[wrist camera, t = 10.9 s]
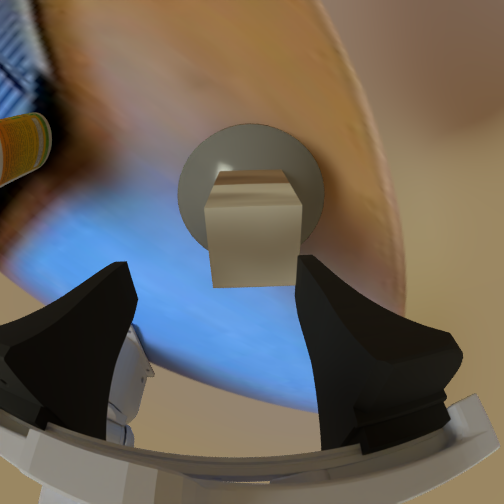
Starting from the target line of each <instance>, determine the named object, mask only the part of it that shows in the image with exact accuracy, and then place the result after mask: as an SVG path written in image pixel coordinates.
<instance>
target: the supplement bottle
mask: <svg viewBox="0 0 504 504" xmlns="http://www.w3.org/2000/svg"><path fill="white" fill-rule="evenodd" d="M51 145H52V133H51V128H50V125H49V123H48V121H47V120H46V118H45V117H44V116H43V115H41V114H39V113H27V114H22V115H17V116H13V117H8V118H4V119H0V187H2V186H4V185H6V184H8V183H10V182H12V181H14V180H16V179H18V178H20V177H22V176H24V175H26V174H28V173H30V172H32V171H34V170H36V169H38V168H40V167H41V166H42V165H43V164H44V163H45V161H46V160H47V158H48V156H49V153H50V150H51Z"/></svg>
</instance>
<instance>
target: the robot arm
mask: <svg viewBox="0 0 504 504" xmlns="http://www.w3.org/2000/svg"><path fill="white" fill-rule="evenodd" d="M295 301H296V308H297V314H298V318H299V322H300V325H301V329H302V332H303V335H304V339H305V342H306V346H307V349H308V353H309V356H310V360H311V364H312V369H313V375H314V382H315V388H316V396H317V404H318V413H319V422H320V435H321V451H318V452H311V453H303V454H295V455H284V456H271V457H249V458H248V457H247V458H228V457H227V458H226V457H203V456H190V455H180V454H171V453H164V452H157V451H151V450H145V449H139V448H134V435H133V433H132V430H131V427H130V426H128V425H126V424H128V423H130V422H131V421H132V420H133V419H134V418H135V417H136V415H137V413H138V410H139V406H140V402H141V398H142V395H143V391H144V387H145V383H146V380H147V377H154V374H155V373H154V371H153V369H152V367H151V365H150V363H149V361H148V359H147V357H146V355H145V353H144V350H143V348H142V346H141V344H140V342H139V339H138V337H137V335H136V332H135V330H134V328H133V326H132V325H131V323H132V321H133V318H134V314H135V311H136V306H137V302H138V297H137V294H136V291H135V287H134V284H133V281H132V278H131V274H130V271H129V268H128V264H127V261H124V262H114V263H112V264H110V265H108V266H106V267H105V268H103V269H102V270H100V271H99V272H97V273H96V274H94V275H93V276H92V277H90V278H89V279H87V280H86V281H84V282H83V283H82V284H80V285H79V286H77V287H76V288H74V289H73V290H71V291H70V292H68V293H67V294H65V295H64V296H62V297H61V298H59V299H57V300H56V301H54V302H52V303H51V304H49V305H47V306H45V307H43V308H42V309H40V310H37V311H35V312H33V313H31V314H29V315H27V316H25V317H22V318H20V319H18V320H15V321H12V322H9V323H7V324H4V325H0V456H1V457H3V458H4V459H6V460H7V461H8V462H10V463H11V464H13V465H14V466H16V467H17V468H18V469H19V470H20V472H21V473H23V474H24V475H26V476H28V477H29V478H31V479H32V480H34V481H36V482H38V483H40V484H41V485H42V490H41V494H40V499H39V503H38V504H401V503H404V502H406V501H409V500H411V499H413V498H416V497H418V496H420V495H422V494H425V493H426V492H428V491H431V490H433V489H435V488H437V487H439V486H440V485H442V484H444V483H446V482H448V481H450V480H451V479H453V478H455V477H457V476H458V475H460V474H462V473H463V472H465V471H467V470H468V469H470V468H471V467H473V466H475V465H476V464H478V463H479V462H480V461H482V460H483V459H485V458H486V457H488V456H489V455H491V454H492V453H493V452H495V451H496V450H497V449H499V447H500V444H499V441H498V439H497V436H496V434H495V431H494V429H493V427H492V425H491V422H490V420H489V418H488V416H487V414H486V412H485V410H484V407H483V406H482V403H481V401H480V399H479V397H478V396H477V394H472V395H470V396H468V397H466V398H464V399H462V400H460V401H458V402H456V403H454V404H452V405H451V406H449V407H448V408H447V409H446V407H445V404H444V401H445V400H446V399H447V395H446V394H445V391H444V388H445V387H446V386H447V384H448V383H449V382H450V380H451V379H452V378H453V376H454V375H455V374H456V372H457V371H458V369H459V367H460V365H461V362H462V359H463V353H462V351H461V349H460V348H459V346H458V344H457V343H456V341H455V340H454V338H453V337H452V335H451V334H450V333H449V332H445V331H442V330H438V329H434V328H431V327H427V326H424V325H422V324H419V323H416V322H413V321H411V320H409V319H406V318H404V317H402V316H399V315H397V314H395V313H393V312H391V311H389V310H387V309H385V308H383V307H381V306H380V305H378V304H376V303H374V302H373V301H371V300H370V299H368V298H366V297H365V296H363V295H362V294H360V293H359V292H357V291H356V290H355V289H353V288H352V287H350V286H349V285H348V284H346V283H345V282H344V281H343V280H341V279H340V278H339V277H338V276H337V275H335V274H334V273H333V272H332V271H331V270H329V269H328V268H327V267H326V266H325V265H324V264H323V263H321V262H320V261H319V260H318V259H317V258H316V257H315V256H313V255H298V257H297V272H296V286H295ZM222 481H224V482H222ZM255 481H270V484H254V483H253V484H252V483H234V482H255Z"/></svg>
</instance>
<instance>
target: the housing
mask: <svg viewBox="0 0 504 504" xmlns="http://www.w3.org/2000/svg"><path fill="white" fill-rule="evenodd" d="M204 213H205V223H206V232H207V241H208V250H209V258H210V267H211V275H212V282H213V288H237V287H267V286H290V285H296V272H297V257H298V255H300V240H301V223H302V204H301V202H300V200H299V198H298V197H297V195H296V193H295V192H294V190H293V188H292V186H291V185H290V183H289V181H288V180H287V178H286V176H285V174H284V173H283V171H282V169H278V170H237V171H219V174H218V176H217V178H216V181H215V183H214V185H213V188H212V190H211V193H210V195H209V197H208V200H207V202H206V205H205V207H204Z"/></svg>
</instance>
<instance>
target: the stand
mask: <svg viewBox="0 0 504 504" xmlns="http://www.w3.org/2000/svg"><path fill="white" fill-rule="evenodd" d="M278 169H282V171H283V173H284V174H285V176H286V178H287V180H288V181H289V183H290V185H291V186H292V188H293V190H294V192H295V193H296V195H297V197H298V198H299V200H300V202H301V204H302V223H301V240H300V245H301V244H302V243H303V242H304V241H305V240H306V239H307V238H308V237H309V235H310V234H311V233H312V232H313V230H314V228H315V227H316V225H317V223H318V221H319V218H320V216H321V213H322V209H323V204H324V183H323V178H322V175H321V171H320V169H319V167H318V165H317V162H316V161H315V159H314V158H313V156H312V154H311V153H310V152H309V151H308V150H307V148H306V147H305V146H304V145H303V144H301V143H300V142H299V141H298V140H297V139H295V138H294V137H292V136H291V135H289V134H287V133H285V132H283V131H281V130H279V129H277V128H274V127H271V126H268V125H262V124H239V125H235V126H231V127H228V128H225V129H223V130H220V131H219V132H217V133H215V134H213V135H212V136H210V137H209V138H208V139H206V140H205V141H204V142H202V143H201V144H200V145H199V146H198V147H197V148H196V149H195V150H194V151H193V153H192V154H191V155H190V157H189V158H188V160H187V162H186V163H185V165H184V167H183V170H182V173H181V175H180V179H179V184H178V205H179V210H180V214H181V216H182V219H183V222H184V224H185V226H186V227H187V229H188V231H189V232H190V234H191V235H192V236H193V237H194V238H195V240H196V241H197V242H198V243H199V244H200V245H202V246H203V247H204V248H205V249H207V250H208V241H207V232H206V223H205V213H204V207H205V205H206V202H207V200H208V197H209V195H210V193H211V190H212V188H213V185H214V183H215V181H216V178H217V176H218V174H219V171H237V170H278ZM208 251H209V250H208Z"/></svg>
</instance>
